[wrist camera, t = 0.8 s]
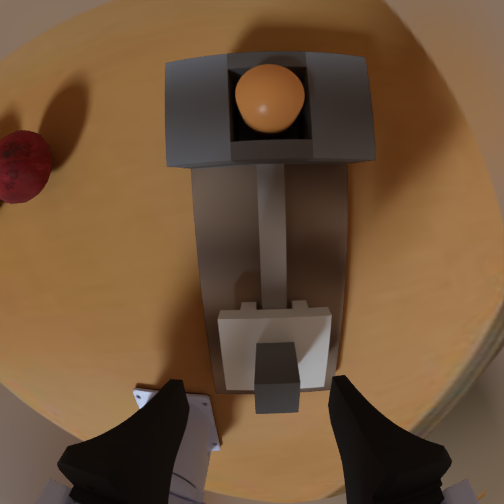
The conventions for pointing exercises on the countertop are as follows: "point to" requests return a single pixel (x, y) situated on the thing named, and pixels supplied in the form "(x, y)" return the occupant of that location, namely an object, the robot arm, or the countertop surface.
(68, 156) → the countertop surface
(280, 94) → the brown egg
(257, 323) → the carriage
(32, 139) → the onion
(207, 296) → the rail bed
